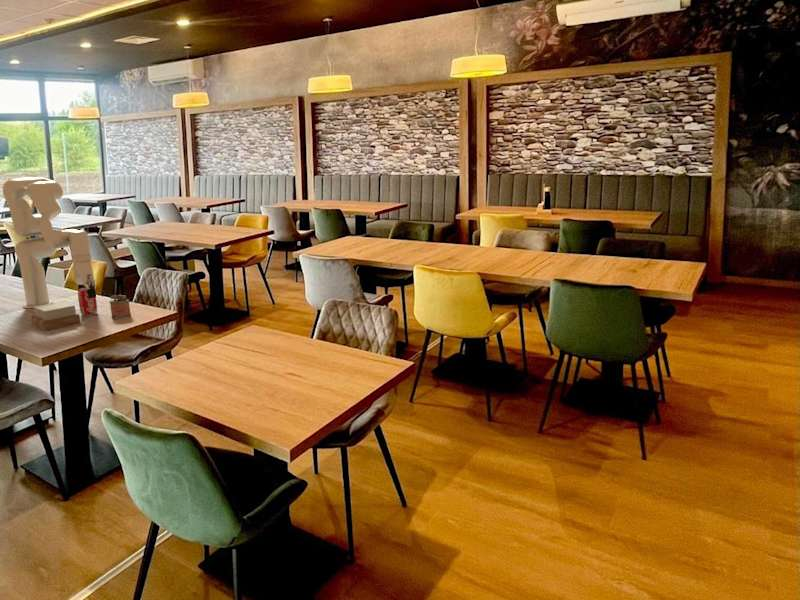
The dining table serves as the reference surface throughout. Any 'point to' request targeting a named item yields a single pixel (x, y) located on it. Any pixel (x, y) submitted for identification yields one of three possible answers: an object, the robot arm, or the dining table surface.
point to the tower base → (56, 322)
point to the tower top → (54, 310)
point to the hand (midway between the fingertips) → (87, 296)
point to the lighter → (120, 307)
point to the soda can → (86, 303)
